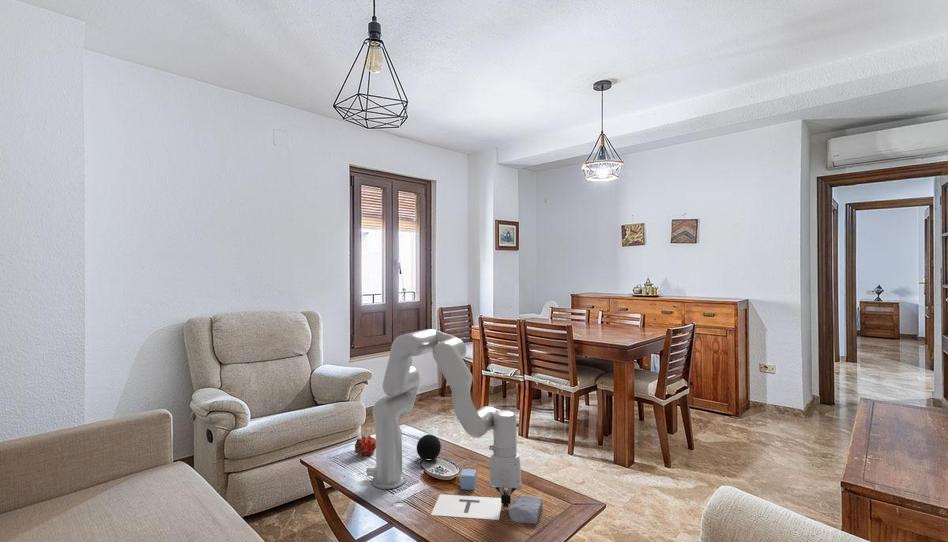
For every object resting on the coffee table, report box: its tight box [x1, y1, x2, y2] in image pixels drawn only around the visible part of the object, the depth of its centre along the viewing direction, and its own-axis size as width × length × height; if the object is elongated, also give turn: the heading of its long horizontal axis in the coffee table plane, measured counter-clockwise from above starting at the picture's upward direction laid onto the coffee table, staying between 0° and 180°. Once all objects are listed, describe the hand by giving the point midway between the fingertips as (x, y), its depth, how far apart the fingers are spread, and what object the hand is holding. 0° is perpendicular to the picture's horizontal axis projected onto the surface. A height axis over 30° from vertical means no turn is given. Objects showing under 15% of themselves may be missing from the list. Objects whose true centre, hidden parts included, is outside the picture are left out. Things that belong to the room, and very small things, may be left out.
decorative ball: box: [416, 434, 442, 461], centre depth 186 cm, size 10×10×10 cm
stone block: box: [508, 494, 544, 525], centre depth 145 cm, size 12×5×10 cm
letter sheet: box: [430, 493, 503, 521], centre depth 149 cm, size 22×13×1 cm, turn 81°
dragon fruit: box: [354, 435, 376, 458], centre depth 192 cm, size 8×8×12 cm
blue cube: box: [460, 468, 477, 491], centre depth 163 cm, size 5×5×5 cm
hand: (505, 505), depth 147 cm, fingers closed
